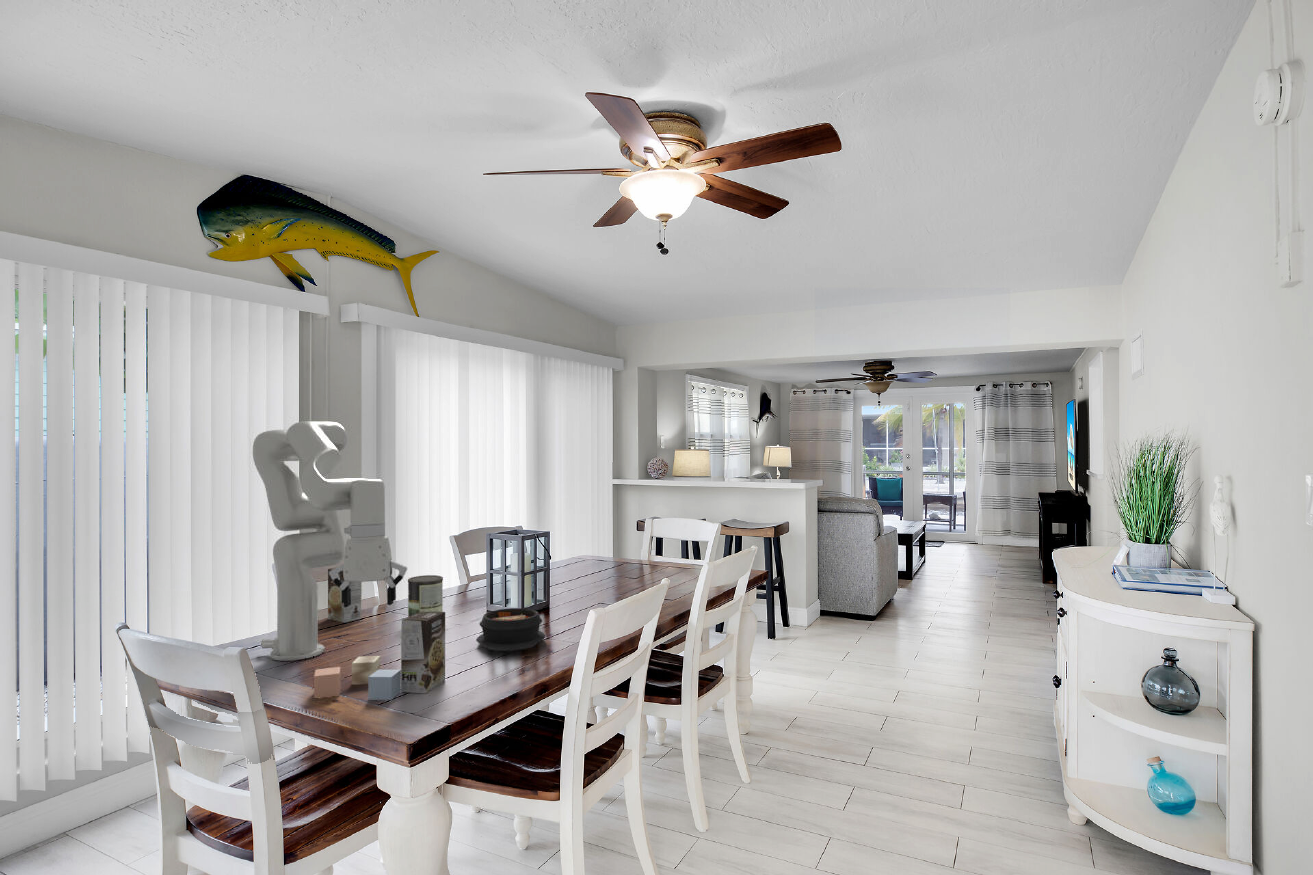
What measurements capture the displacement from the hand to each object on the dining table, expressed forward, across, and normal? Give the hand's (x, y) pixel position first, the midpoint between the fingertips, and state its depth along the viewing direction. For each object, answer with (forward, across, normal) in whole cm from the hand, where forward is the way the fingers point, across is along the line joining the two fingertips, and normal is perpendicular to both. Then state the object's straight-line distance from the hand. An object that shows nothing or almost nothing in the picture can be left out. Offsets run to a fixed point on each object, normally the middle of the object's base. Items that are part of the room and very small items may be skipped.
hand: (369, 605), depth 165 cm
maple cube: (+18, -1, 0) cm, 18 cm away
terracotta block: (+18, -7, -8) cm, 20 cm away
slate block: (+18, +6, -11) cm, 22 cm away
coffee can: (+17, +3, +52) cm, 55 cm away
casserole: (+18, +31, +25) cm, 44 cm away
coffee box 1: (+16, -24, +62) cm, 69 cm away
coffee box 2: (+18, +13, -6) cm, 23 cm away
